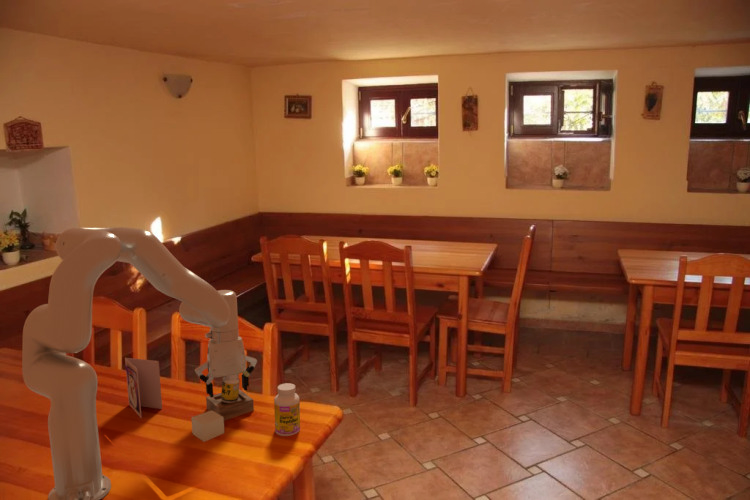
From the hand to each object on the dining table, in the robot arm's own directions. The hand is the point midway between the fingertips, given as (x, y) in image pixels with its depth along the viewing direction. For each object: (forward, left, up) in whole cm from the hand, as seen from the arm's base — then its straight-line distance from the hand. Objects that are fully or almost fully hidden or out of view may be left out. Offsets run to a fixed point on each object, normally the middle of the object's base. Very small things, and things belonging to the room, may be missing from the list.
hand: (228, 392), depth 169 cm
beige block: (-10, +8, -6) cm, 14 cm away
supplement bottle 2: (-19, -11, -6) cm, 23 cm away
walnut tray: (0, 0, -7) cm, 7 cm away
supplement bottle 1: (0, 0, -3) cm, 3 cm away
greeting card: (+14, +21, -6) cm, 26 cm away
